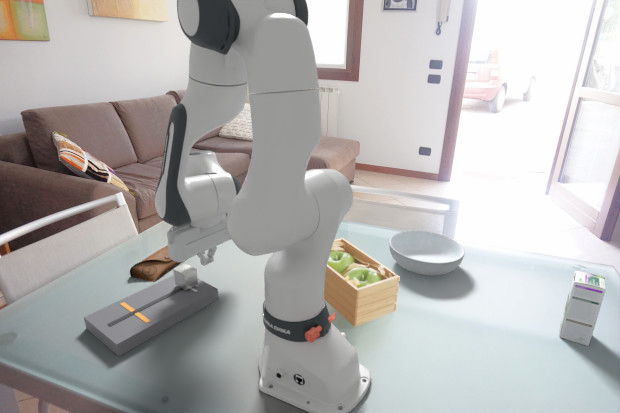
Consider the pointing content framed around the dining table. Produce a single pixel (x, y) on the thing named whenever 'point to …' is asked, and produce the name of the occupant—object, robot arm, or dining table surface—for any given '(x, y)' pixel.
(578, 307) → the syrup box
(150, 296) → the fader console
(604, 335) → the dining table surface
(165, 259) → the sunglasses case
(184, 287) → the fader tab
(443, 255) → the serving bowl
